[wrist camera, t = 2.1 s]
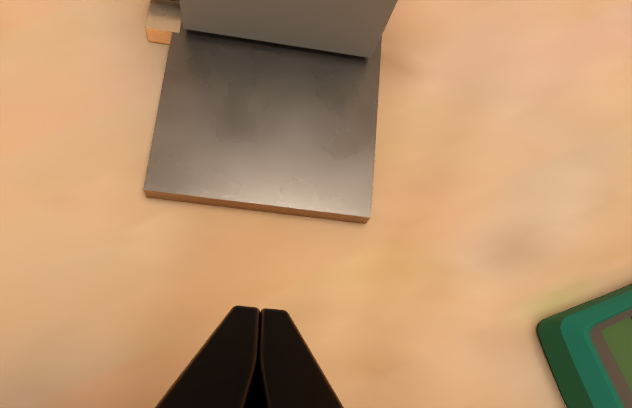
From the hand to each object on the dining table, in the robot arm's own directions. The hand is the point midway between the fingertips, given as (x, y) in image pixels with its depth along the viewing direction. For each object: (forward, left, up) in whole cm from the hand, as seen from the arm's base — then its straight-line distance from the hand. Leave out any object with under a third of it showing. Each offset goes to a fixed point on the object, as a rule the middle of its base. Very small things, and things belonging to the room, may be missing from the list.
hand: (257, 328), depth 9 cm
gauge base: (+14, +9, -13) cm, 21 cm away
